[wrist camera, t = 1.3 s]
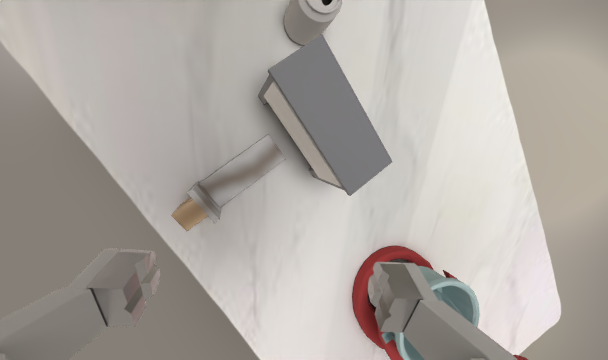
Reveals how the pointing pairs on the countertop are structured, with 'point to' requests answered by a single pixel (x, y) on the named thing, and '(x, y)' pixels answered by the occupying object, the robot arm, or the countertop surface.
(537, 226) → the countertop surface
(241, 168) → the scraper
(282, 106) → the cabinet
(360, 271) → the stand mixer
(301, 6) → the can
